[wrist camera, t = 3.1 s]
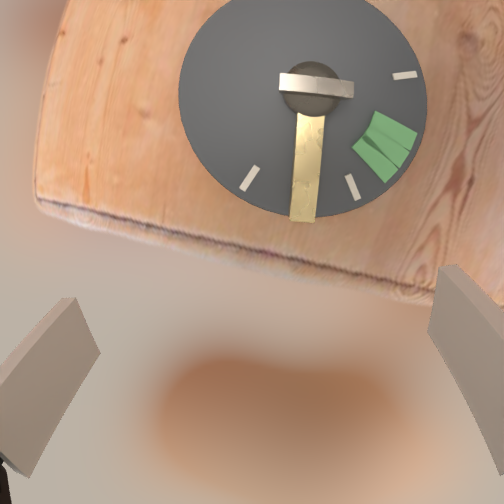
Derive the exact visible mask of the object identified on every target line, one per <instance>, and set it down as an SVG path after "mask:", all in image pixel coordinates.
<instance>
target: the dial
mask: <svg viewBox="0 0 504 504" xmlns="http://www.w3.org/2000/svg"><path fill="white" fill-rule="evenodd" d="M307 61H315V62H319V63H322V64H325V65H327V66H328V67H330V68H331V69H332V70H333V71H334V72H335V73H336V74H337V76H338V77H339V79H340V80H346V81H352V82H354V95H353V99H349V100H346V101H345V100H340V102H339V104H338V106H337V107H336V108H335V109H334V110H333V111H332V112H330V113H329V114H327V115H324V116H325V117H324V131H323V143H322V155H321V166H320V176H319V186H318V196H317V205H316V214H315V217H323V216H332V215H336V214H340V213H344V212H348V211H350V210H353V209H356V208H358V207H361V206H363V205H365V204H367V203H369V202H370V201H372V200H374V199H376V198H377V197H378V196H380V195H381V194H383V193H384V192H386V191H387V190H388V189H389V188H390V187H391V186H392V185H393V184H394V183H395V182H397V181H398V179H399V178H400V177H401V176H402V174H403V173H404V172H405V171H406V170H407V168H408V167H409V165H410V163H411V162H412V160H413V158H414V157H415V155H416V152H417V150H418V148H419V146H420V143H421V140H422V137H423V133H424V129H425V123H426V116H427V95H426V87H425V82H424V78H423V74H422V70H421V67H420V65H419V62H418V60H417V58H416V55H415V53H414V51H413V50H412V48H411V46H410V44H409V43H408V41H407V40H406V38H405V37H404V36H403V34H402V33H401V32H400V30H399V29H398V28H397V27H396V26H395V25H394V24H393V23H392V22H391V20H390V19H389V18H388V17H387V16H385V15H384V14H383V13H382V12H380V11H379V10H378V9H377V8H375V7H374V6H373V5H371V4H369V3H368V2H366V1H365V0H231V1H230V2H228V3H227V4H225V5H224V6H222V7H221V8H220V9H219V10H217V11H216V12H215V13H214V14H213V15H212V16H211V17H210V18H209V19H208V20H207V21H206V22H205V23H204V25H203V26H202V27H201V28H200V30H199V31H198V32H197V34H196V36H195V37H194V39H193V41H192V42H191V44H190V46H189V49H188V51H187V53H186V56H185V58H184V61H183V65H182V69H181V73H180V80H179V108H180V114H181V120H182V123H183V127H184V130H185V133H186V136H187V138H188V140H189V142H190V144H191V147H192V149H193V151H194V152H195V154H196V155H197V157H198V158H199V160H200V162H201V163H202V164H203V166H204V167H205V168H206V169H207V170H208V172H209V173H210V174H211V175H212V176H213V177H214V178H215V179H216V180H217V181H218V182H219V183H220V184H221V185H223V186H224V187H225V188H226V189H228V190H229V191H230V192H232V193H233V194H235V195H236V196H237V197H239V198H241V199H243V200H245V201H246V202H248V203H250V204H252V205H254V206H257V207H259V208H262V209H264V210H267V211H270V212H274V213H278V214H282V215H288V216H289V214H288V212H289V200H290V188H291V176H292V163H293V150H294V136H295V121H296V113H294V112H293V111H291V110H290V109H289V108H288V106H287V105H286V103H285V101H284V99H283V94H282V93H279V78H280V73H286V74H287V73H288V72H289V71H290V69H292V68H293V67H294V66H296V65H297V64H299V63H302V62H307Z"/></svg>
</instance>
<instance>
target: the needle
mask: <svg viewBox="0 0 504 504" xmlns="http://www.w3.org/2000/svg"><path fill="white" fill-rule="evenodd" d="M279 93H282V94H283V99H284V101H285V103H286V105H287V106H288V108H289V109H290V110H291V111H293V112H294V113H296V121H295V136H294V150H293V163H292V176H291V188H290V200H289V212H288V214H289V221H294V222H307V223H314V222H315V214H316V205H317V196H318V186H319V176H320V166H321V155H322V143H323V131H324V117H325V116H324V115H327V114H329V113H330V112H332V111H333V110H334V109H335V108H336V107H337V106H338V104H339V102H340V100H345V101H346V100H349V99H353V95H354V82H352V81H346V80H340V79H339V77H338V76H337V74H336V73H335V72H334V71H333V70H332V69H331V68H330V67H328V66H327V65H325V64H322V63H319V62H315V61H307V62H302V63H299V64H297V65H296V66H294V67H293V68H292V69H290V71H289V72H288V73H287V74H286V73H280V78H279Z"/></svg>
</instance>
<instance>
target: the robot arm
mask: <svg viewBox="0 0 504 504" xmlns="http://www.w3.org/2000/svg"><path fill="white" fill-rule="evenodd" d="M428 334H429V335H430V337H431V339H432V340H433V342H434V344H435V345H436V347H437V349H438V351H439V352H440V354H441V356H442V357H443V359H444V361H445V363H446V365H447V366H448V368H449V370H450V372H451V374H452V375H453V377H454V379H455V381H456V383H457V384H458V387H459V388H460V390H461V392H462V394H463V396H464V398H465V400H466V402H467V404H468V405H469V408H470V410H471V412H472V414H473V416H474V418H475V420H476V422H477V424H478V426H479V428H480V431H481V433H482V435H483V437H484V439H485V441H486V444H487V446H488V448H489V450H490V453H491V455H492V457H493V460H494V462H495V464H496V467H497V470H498V472H499V475H500V476H501V475H503V474H504V312H503V311H502V310H501V308H500V307H499V306H498V305H497V304H496V303H495V302H494V301H493V300H492V299H491V298H490V297H489V296H488V295H487V294H486V293H485V292H484V291H483V290H482V289H481V288H480V287H479V286H478V285H477V284H476V283H475V282H474V281H473V280H472V279H471V278H470V277H469V276H468V275H467V274H466V273H465V272H464V271H463V270H462V269H461V268H460V267H459V266H458V265H457V264H455V265H448V266H440V267H439V269H438V276H437V283H436V289H435V295H434V301H433V306H432V312H431V318H430V322H429V327H428ZM99 355H100V351H99V349H98V347H97V345H96V343H95V341H94V338H93V336H92V334H91V332H90V330H89V327H88V325H87V323H86V320H85V318H84V316H83V314H82V311H81V309H80V306H79V304H78V301H77V299H76V298H62V299H61V300H60V301H59V302H58V303H57V304H56V305H55V306H54V307H53V308H52V309H51V310H50V311H49V312H48V313H47V314H46V315H45V316H44V317H43V319H42V320H41V321H40V322H39V323H38V324H37V325H36V326H35V327H34V328H33V329H32V330H31V332H30V333H29V334H28V335H27V336H26V337H25V338H24V339H23V340H22V341H21V343H20V344H19V345H18V346H17V347H16V348H15V349H14V351H13V352H12V353H11V354H10V355H9V356H8V358H7V359H6V360H5V361H4V362H3V364H2V365H1V366H0V504H12V503H11V497H10V492H9V485H8V478H7V472H6V470H5V468H4V467H3V466H2V463H3V461H4V462H6V463H7V464H8V465H9V466H10V467H11V468H12V469H13V470H14V471H15V472H17V473H19V474H21V475H23V476H25V477H27V478H30V476H31V474H32V472H33V470H34V468H35V466H36V464H37V462H38V460H39V458H40V457H41V455H42V453H43V451H44V449H45V447H46V445H47V443H48V442H49V440H50V438H51V436H52V434H53V432H54V431H55V429H56V427H57V425H58V423H59V422H60V420H61V418H62V416H63V415H64V413H65V411H66V409H67V408H68V406H69V404H70V403H71V401H72V399H73V398H74V396H75V394H76V392H77V391H78V389H79V387H80V386H81V384H82V382H83V381H84V379H85V378H86V376H87V374H88V373H89V371H90V369H91V368H92V366H93V365H94V363H95V361H96V360H97V358H98V357H99Z"/></svg>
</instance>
